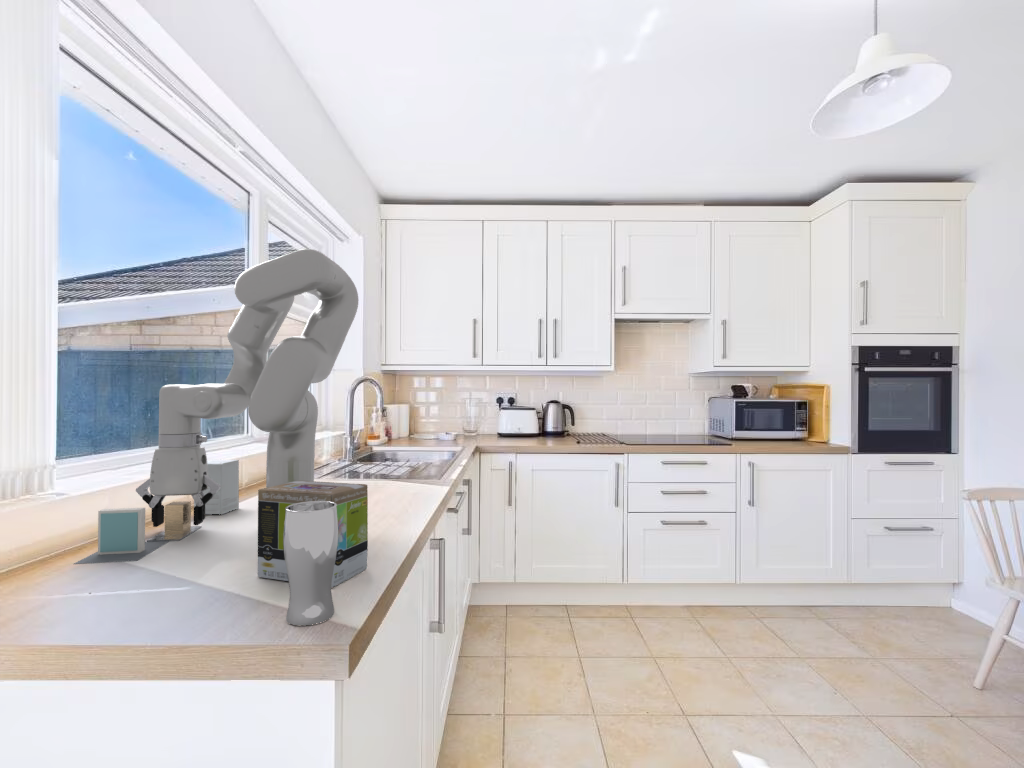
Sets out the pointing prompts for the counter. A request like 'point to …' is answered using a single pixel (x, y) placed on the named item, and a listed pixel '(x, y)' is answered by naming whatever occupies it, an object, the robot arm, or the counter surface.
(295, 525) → the beer glass
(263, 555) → the tea box
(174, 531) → the trowel
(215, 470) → the supplement box
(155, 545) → the mat
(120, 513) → the tile
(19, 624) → the counter surface
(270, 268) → the robot arm
